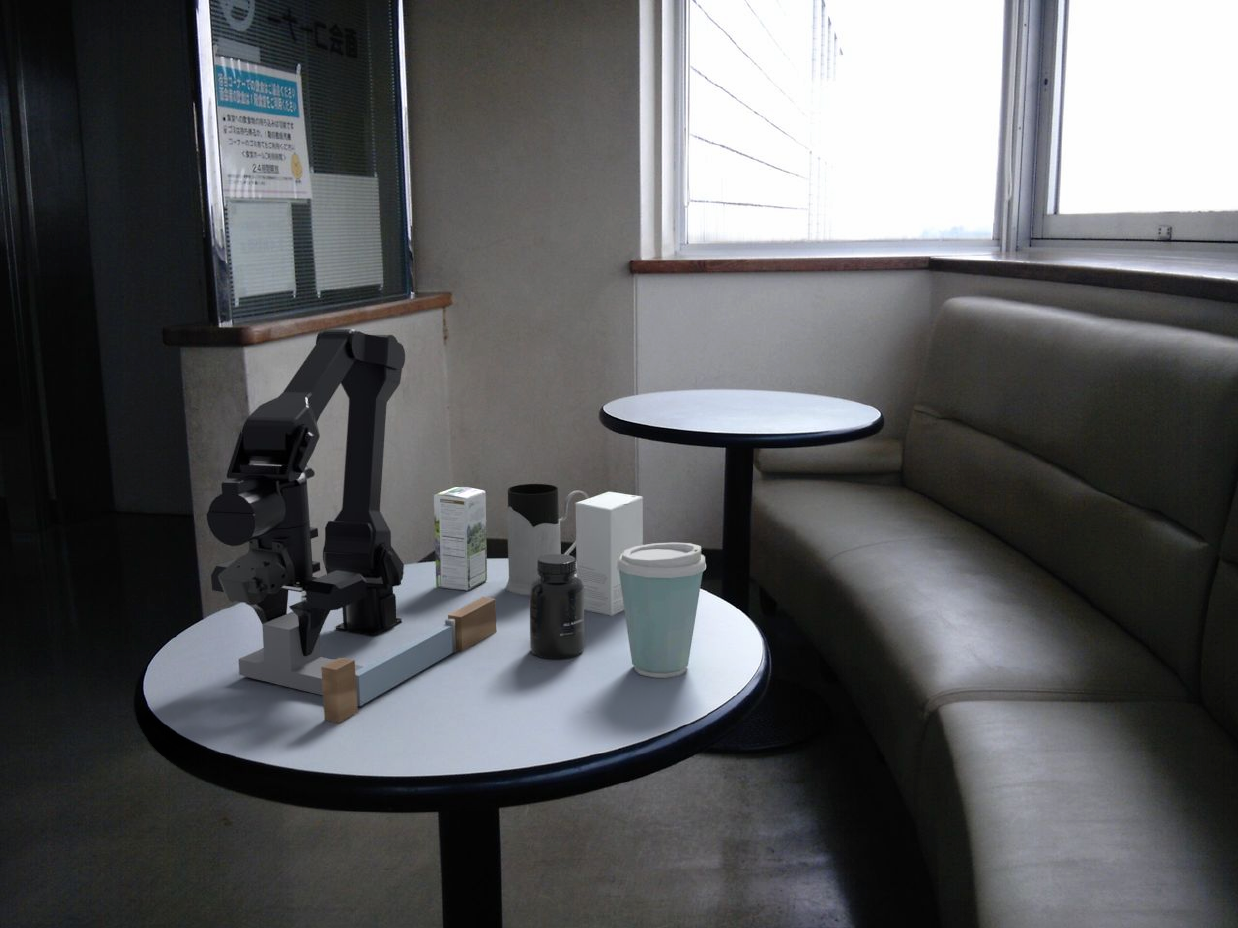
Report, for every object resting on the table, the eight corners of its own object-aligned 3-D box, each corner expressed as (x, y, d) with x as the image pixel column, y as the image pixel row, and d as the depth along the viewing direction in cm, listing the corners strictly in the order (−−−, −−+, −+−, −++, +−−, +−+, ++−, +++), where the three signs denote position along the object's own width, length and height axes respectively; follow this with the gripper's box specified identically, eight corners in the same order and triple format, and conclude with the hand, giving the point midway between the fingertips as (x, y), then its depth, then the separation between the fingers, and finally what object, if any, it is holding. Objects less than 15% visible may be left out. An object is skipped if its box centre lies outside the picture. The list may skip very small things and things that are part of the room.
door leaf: (351, 704, 118) (349, 670, 118) (450, 648, 135) (448, 618, 135) (360, 706, 118) (358, 671, 117) (458, 649, 135) (456, 619, 134)
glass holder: (495, 584, 163) (492, 487, 160) (576, 568, 171) (574, 476, 168) (523, 598, 156) (520, 497, 153) (605, 582, 164) (604, 485, 161)
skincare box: (609, 594, 158) (608, 490, 155) (646, 602, 154) (646, 495, 151) (574, 609, 151) (572, 501, 148) (612, 617, 147) (611, 507, 144)
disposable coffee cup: (603, 678, 126) (602, 554, 123) (634, 648, 136) (633, 532, 133) (691, 690, 122) (691, 563, 119) (715, 658, 132) (716, 539, 129)
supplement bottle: (577, 662, 131) (576, 567, 129) (523, 658, 132) (521, 564, 130) (590, 643, 138) (589, 552, 135) (539, 639, 139) (536, 550, 137)
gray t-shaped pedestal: (239, 674, 127) (236, 618, 125) (269, 660, 131) (267, 606, 130) (347, 701, 120) (345, 641, 119) (375, 685, 124) (373, 627, 123)
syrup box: (455, 577, 167) (452, 485, 164) (488, 581, 164) (486, 488, 162) (435, 587, 162) (431, 493, 159) (469, 591, 159) (466, 496, 157)
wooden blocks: (324, 719, 115) (321, 666, 114) (483, 629, 143) (482, 586, 142) (339, 723, 114) (336, 669, 113) (496, 631, 142) (495, 587, 141)
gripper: (168, 531, 120) (180, 663, 123) (297, 549, 112) (307, 690, 115) (242, 509, 129) (251, 632, 132) (366, 525, 122) (373, 655, 125)
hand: (292, 652), depth 126 cm, fingers closed on gray t-shaped pedestal, 4 cm apart
